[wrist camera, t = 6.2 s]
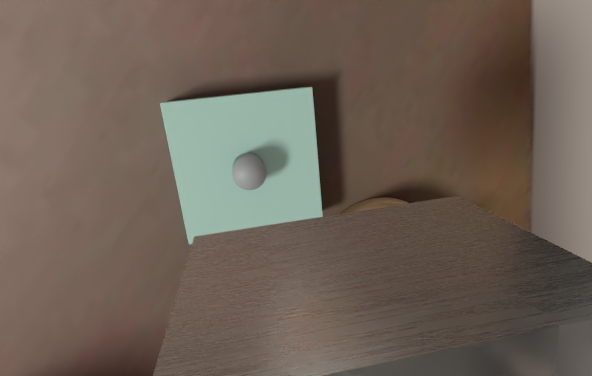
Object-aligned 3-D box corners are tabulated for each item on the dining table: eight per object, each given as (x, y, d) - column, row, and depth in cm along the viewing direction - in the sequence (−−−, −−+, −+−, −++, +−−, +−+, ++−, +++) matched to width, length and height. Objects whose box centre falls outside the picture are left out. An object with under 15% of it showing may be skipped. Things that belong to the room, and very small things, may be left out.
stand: (166, 101, 22) (154, 104, 19) (306, 86, 24) (317, 87, 20) (192, 231, 25) (185, 254, 22) (316, 213, 26) (328, 231, 23)
